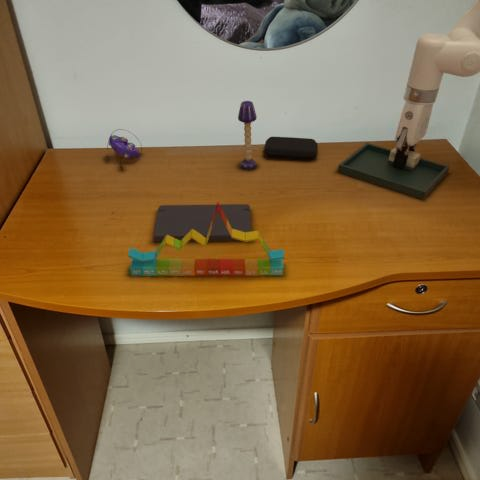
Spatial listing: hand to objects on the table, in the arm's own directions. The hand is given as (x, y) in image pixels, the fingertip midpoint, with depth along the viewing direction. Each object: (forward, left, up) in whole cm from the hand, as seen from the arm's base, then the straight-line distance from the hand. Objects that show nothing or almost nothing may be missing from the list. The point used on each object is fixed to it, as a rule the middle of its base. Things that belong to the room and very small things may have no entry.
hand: (402, 164), depth 129 cm
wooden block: (0, 0, 0) cm, 0 cm away
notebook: (+25, +53, -1) cm, 59 cm away
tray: (+1, +4, -1) cm, 4 cm away
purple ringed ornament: (+63, +42, -1) cm, 76 cm away
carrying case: (+29, +10, -1) cm, 30 cm away
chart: (+13, +66, -1) cm, 67 cm away
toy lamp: (+34, +24, -1) cm, 42 cm away
